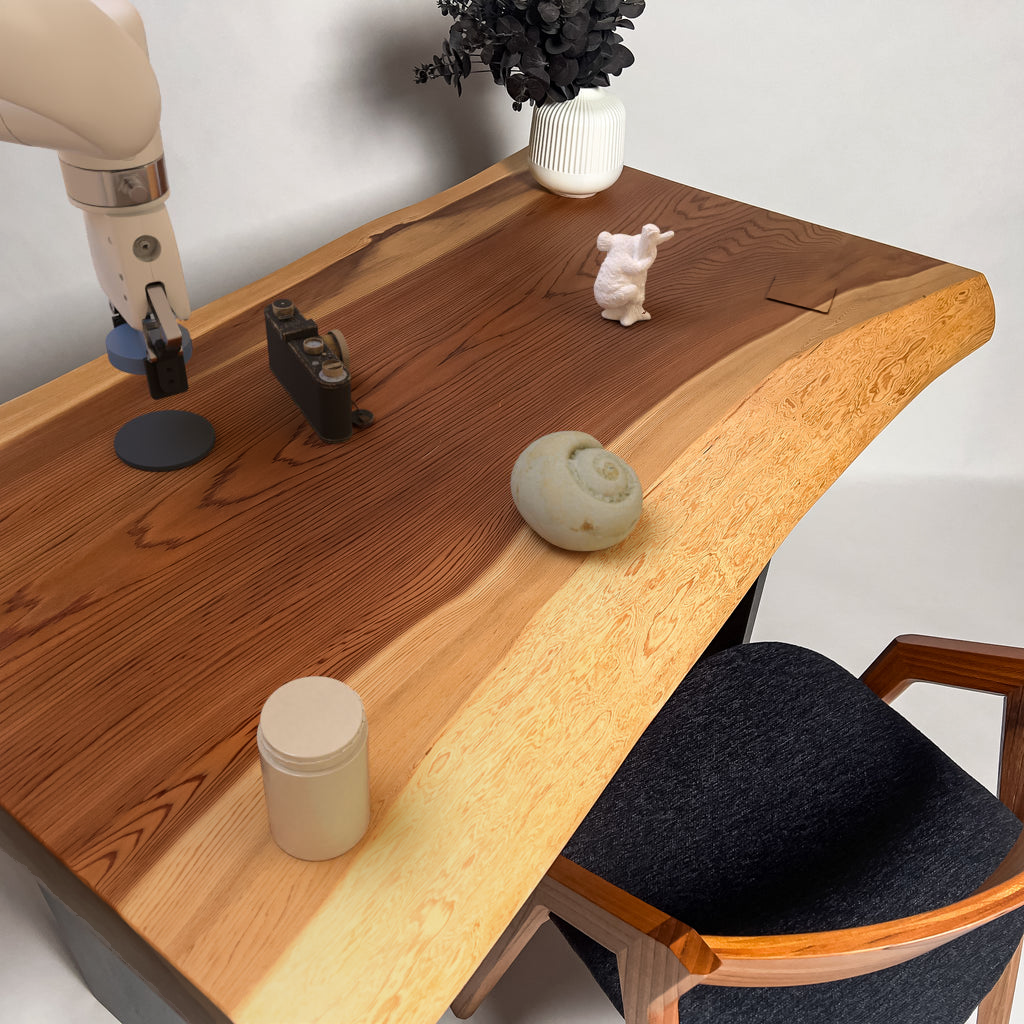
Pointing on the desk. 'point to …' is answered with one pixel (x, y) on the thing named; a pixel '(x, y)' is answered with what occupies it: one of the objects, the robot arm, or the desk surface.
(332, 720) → the jar
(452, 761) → the desk surface
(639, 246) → the koala figurine
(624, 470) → the seashell
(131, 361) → the jar lid
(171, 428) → the coaster
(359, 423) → the camera
